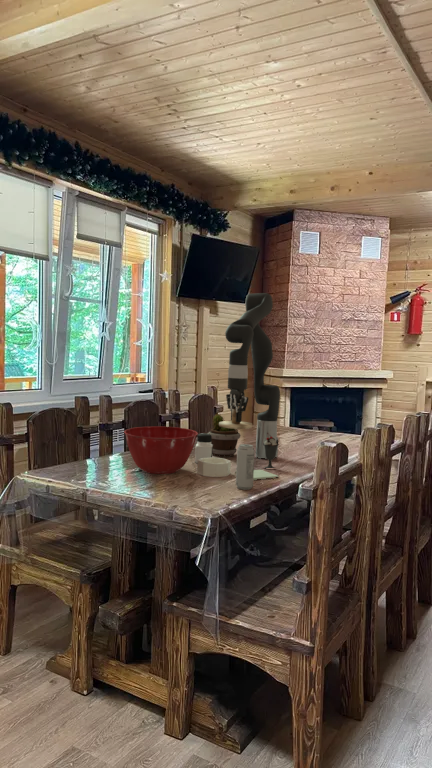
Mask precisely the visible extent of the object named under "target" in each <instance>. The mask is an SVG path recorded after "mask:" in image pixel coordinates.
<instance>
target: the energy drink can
mask: <svg viewBox="0 0 432 768" xmlns="http://www.w3.org/2000/svg"><path fill="white" fill-rule="evenodd" d="M236 449H237V451H236V471H235V472H236V474H235V486H236V488H237V489H239V490H244V491H246V490H247V491H248V490H251V489H252V487H254V480H253V474H254V470H255V454H256V449H254V445H253V444H250V443H249V444H248V443H247V444H246V443H242V444H241V443H240V444H239V445H238V448H236Z"/></svg>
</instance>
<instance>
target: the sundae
mask: <svg viewBox="0 0 432 768" xmlns="http://www.w3.org/2000/svg"><path fill="white" fill-rule="evenodd" d="M267 434H269V433H267ZM263 445H264V446H265V455H266V458H267V459H266V460H268V465H266V466H264V467H265V468H275V467H274V466H273V465H272V463H273V460H275V459H276V458H275V456H276V451H277V446H278V447H279V446H280V444H279V439H278V440H277V441H276V440H275V439H274V438H273V437H272V436H270V438H267V440H266V441H265V443H263ZM274 458H275V459H274Z"/></svg>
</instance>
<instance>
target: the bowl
mask: <svg viewBox="0 0 432 768" xmlns="http://www.w3.org/2000/svg"><path fill="white" fill-rule="evenodd" d="M231 462H232V460H229V459H226V458H224V457H215V456H214V457H213V456H212V457H210V458H201V459H199V460H198V463H197V468H196V469H197V470H196V473H197V474H198V475H201V476H203V477H211V478H212V477H213V478H220V477H222V478H223V477H228V476H229V475H230V474H231V467H232V466H231V465H232V463H231Z"/></svg>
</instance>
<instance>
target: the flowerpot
mask: <svg viewBox="0 0 432 768" xmlns="http://www.w3.org/2000/svg"><path fill="white" fill-rule="evenodd" d="M222 421H225V417H224V416H222V414H221V413H219V412H218V411H217V413H215V414H214V416H212V420H211V422H212V423H211V424H212V425H211V426H213V427H212V428H211V429H210V430H209V431H208V432H207V434H210V435H211V436H212V439H211V444H212V445H213V449H212V456H214V457H218V456H219V458H224V457H225V458H229V456H231V457H234V455H235V454H237V449H238V448H237V444H238V440H239V439H240V438H241V436H242V435H241V433H240V432H239V429H231V428H223V427H220V426H219V422H222Z"/></svg>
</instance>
